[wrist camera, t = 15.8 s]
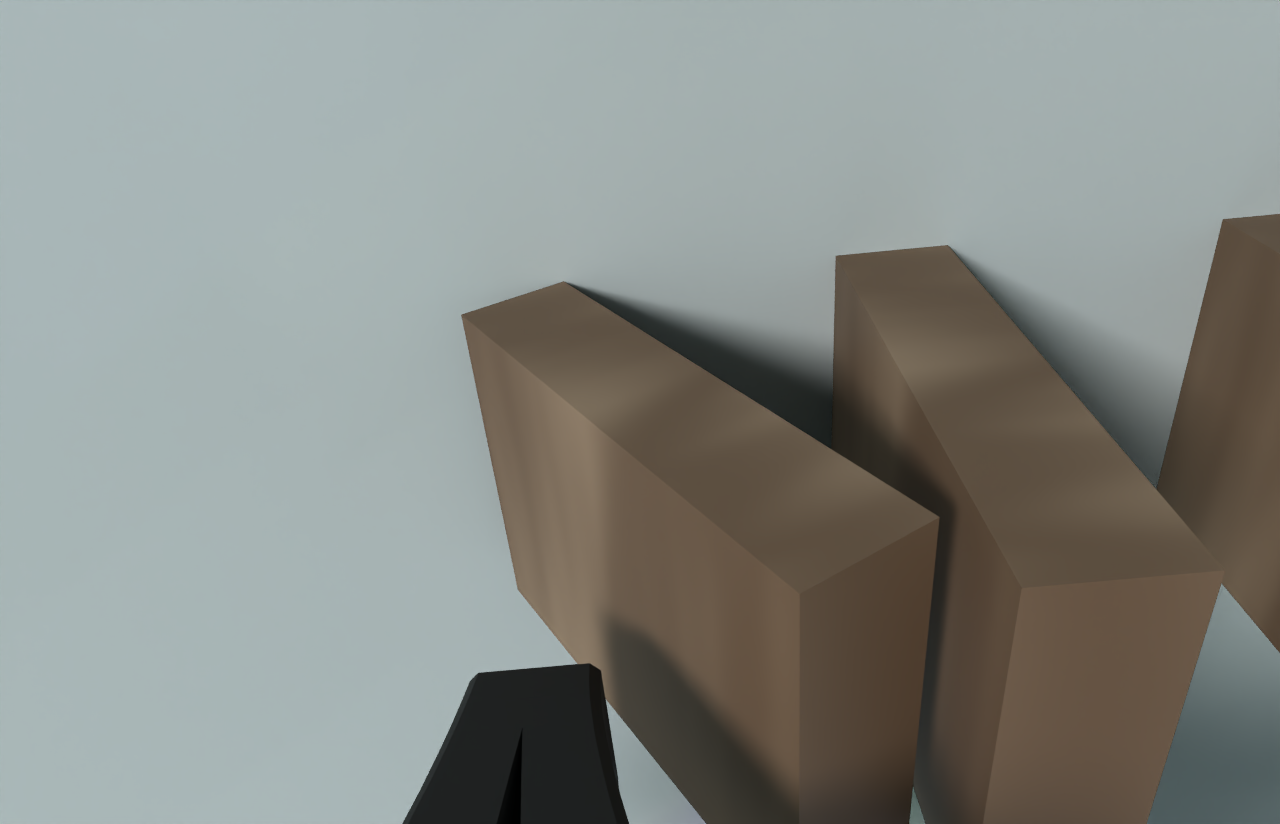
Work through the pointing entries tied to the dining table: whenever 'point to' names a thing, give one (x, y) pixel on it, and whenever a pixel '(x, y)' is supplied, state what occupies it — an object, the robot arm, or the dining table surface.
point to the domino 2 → (1018, 554)
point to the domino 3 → (1235, 420)
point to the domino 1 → (709, 566)
